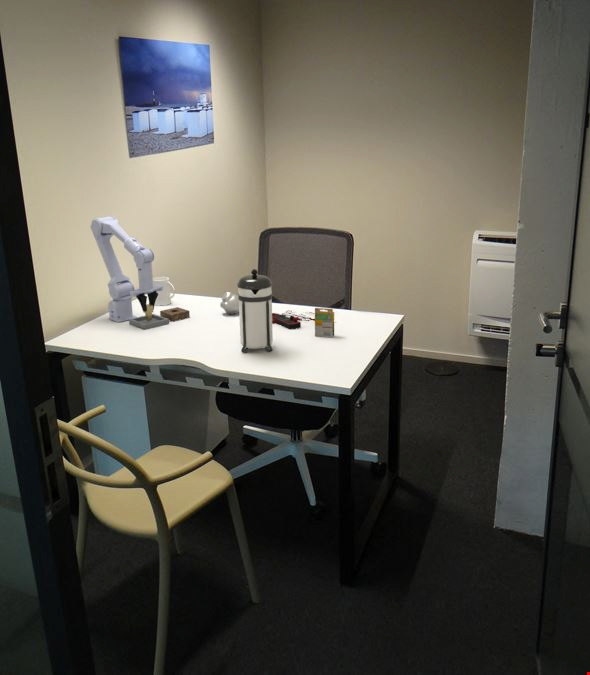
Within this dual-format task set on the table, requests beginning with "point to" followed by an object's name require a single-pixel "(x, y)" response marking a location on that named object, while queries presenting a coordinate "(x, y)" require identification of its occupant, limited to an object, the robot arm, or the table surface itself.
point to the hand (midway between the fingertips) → (148, 310)
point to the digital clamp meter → (288, 320)
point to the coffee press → (255, 311)
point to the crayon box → (324, 322)
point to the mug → (163, 295)
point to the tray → (145, 324)
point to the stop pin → (149, 312)
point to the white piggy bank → (230, 303)
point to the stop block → (175, 313)
